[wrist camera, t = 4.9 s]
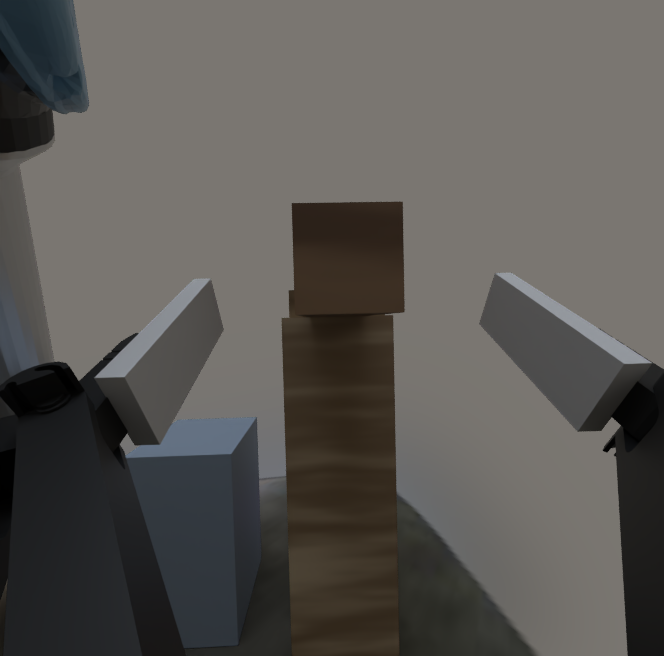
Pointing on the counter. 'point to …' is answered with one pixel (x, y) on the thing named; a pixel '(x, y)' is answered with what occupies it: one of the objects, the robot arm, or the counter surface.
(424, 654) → the counter surface
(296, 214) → the walnut bar
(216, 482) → the blue step
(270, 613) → the counter surface
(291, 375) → the oak post
